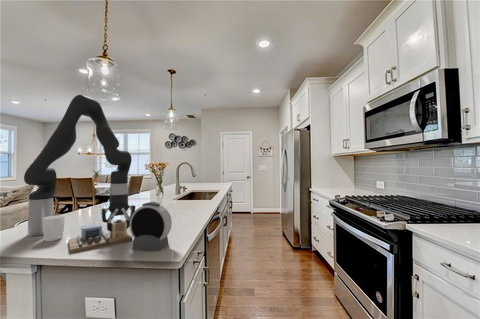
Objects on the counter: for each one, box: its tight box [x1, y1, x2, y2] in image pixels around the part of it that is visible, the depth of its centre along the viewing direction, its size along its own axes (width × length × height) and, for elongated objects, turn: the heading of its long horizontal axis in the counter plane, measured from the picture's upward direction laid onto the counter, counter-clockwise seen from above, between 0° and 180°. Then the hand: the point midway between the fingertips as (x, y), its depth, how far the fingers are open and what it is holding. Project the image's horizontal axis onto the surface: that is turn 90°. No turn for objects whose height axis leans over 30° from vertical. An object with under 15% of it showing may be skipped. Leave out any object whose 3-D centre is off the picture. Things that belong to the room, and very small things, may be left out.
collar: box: [109, 219, 128, 238], centre depth 102 cm, size 6×6×6 cm
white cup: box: [42, 214, 66, 242], centre depth 102 cm, size 8×8×10 cm
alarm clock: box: [129, 201, 173, 252], centre depth 92 cm, size 16×10×18 cm, turn 82°
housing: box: [80, 223, 103, 241], centre depth 99 cm, size 6×7×5 cm
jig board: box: [67, 219, 133, 254], centre depth 98 cm, size 15×22×8 cm
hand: (118, 229), depth 102 cm, fingers open, 6 cm apart
